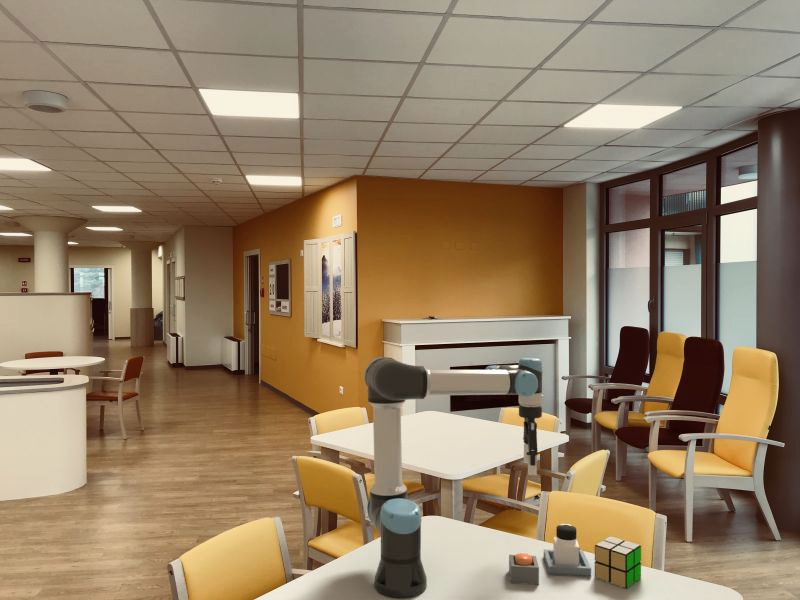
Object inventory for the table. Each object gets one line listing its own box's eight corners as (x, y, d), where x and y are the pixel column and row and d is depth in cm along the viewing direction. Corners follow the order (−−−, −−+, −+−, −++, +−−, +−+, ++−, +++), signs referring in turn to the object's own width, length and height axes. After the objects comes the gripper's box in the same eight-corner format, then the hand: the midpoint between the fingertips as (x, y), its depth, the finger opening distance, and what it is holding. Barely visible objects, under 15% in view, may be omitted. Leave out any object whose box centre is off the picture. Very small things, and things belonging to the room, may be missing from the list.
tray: (548, 574, 184) (548, 566, 184) (543, 557, 197) (543, 549, 197) (591, 576, 183) (591, 568, 183) (583, 558, 195) (583, 551, 195)
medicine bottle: (579, 570, 186) (579, 531, 186) (555, 568, 187) (555, 529, 187) (576, 560, 193) (576, 522, 193) (553, 558, 194) (553, 521, 194)
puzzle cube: (609, 567, 190) (610, 535, 190) (641, 578, 182) (641, 544, 182) (593, 578, 183) (594, 544, 182) (626, 589, 175) (626, 554, 175)
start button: (515, 568, 180) (515, 560, 180) (514, 561, 185) (514, 553, 185) (533, 569, 180) (533, 560, 180) (531, 562, 185) (531, 553, 185)
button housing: (511, 583, 179) (511, 566, 179) (509, 570, 187) (509, 554, 187) (538, 584, 178) (538, 567, 178) (535, 572, 186) (535, 555, 186)
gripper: (547, 412, 190) (546, 480, 190) (537, 398, 214) (537, 459, 215) (522, 411, 190) (522, 479, 191) (515, 398, 215) (515, 458, 215)
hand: (530, 468), depth 203 cm, fingers open, 13 cm apart
